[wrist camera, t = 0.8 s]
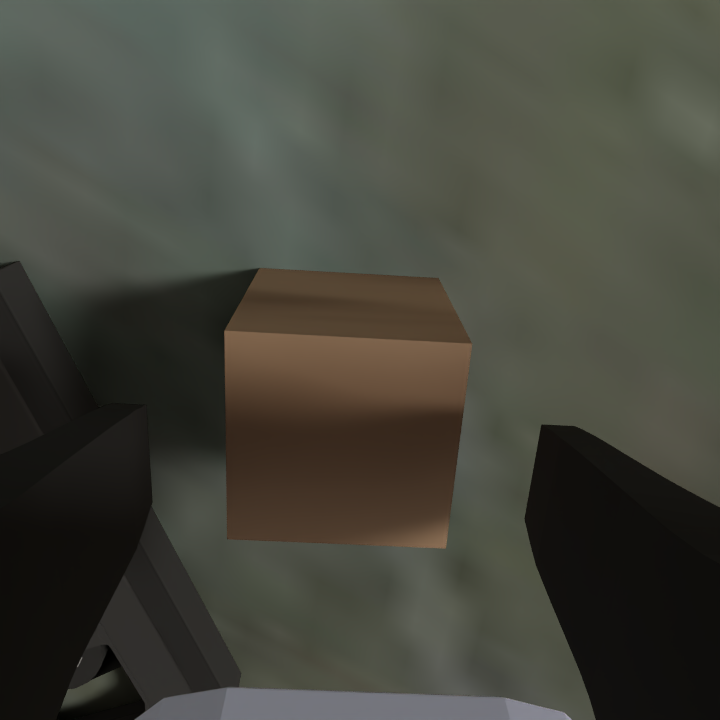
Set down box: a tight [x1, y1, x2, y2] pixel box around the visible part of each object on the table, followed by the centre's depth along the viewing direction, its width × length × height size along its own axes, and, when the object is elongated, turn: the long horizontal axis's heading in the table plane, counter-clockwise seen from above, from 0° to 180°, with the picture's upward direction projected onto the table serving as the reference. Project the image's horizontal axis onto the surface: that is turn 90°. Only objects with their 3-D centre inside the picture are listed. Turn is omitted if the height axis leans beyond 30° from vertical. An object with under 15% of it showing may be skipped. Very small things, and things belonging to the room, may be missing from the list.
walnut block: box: [224, 268, 472, 548], centre depth 15 cm, size 4×4×5 cm
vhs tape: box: [0, 261, 241, 720], centre depth 19 cm, size 14×8×2 cm, turn 19°
